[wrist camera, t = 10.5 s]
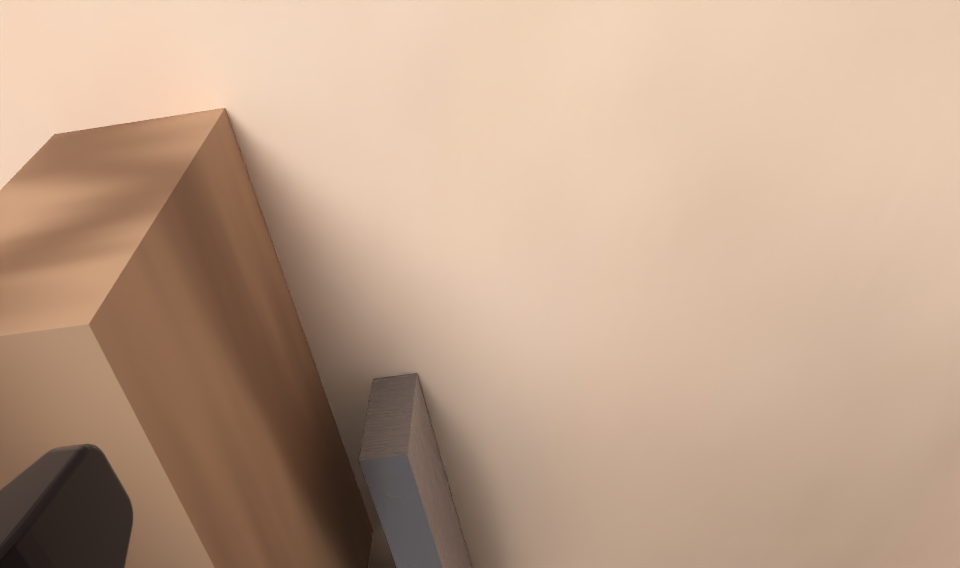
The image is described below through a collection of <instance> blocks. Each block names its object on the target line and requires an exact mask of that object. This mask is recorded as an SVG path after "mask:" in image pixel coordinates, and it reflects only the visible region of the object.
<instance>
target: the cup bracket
mask: <svg viewBox="0 0 960 568" xmlns="http://www.w3.org/2000/svg"><path fill="white" fill-rule="evenodd" d="M359 463H360V466H361V469H362V472H363V475H364V477H365V480H366V483H367V486H368V489H369V491H370V494H371V497H372V500H373V503H374V505H375V508H376V511H377V514H378V517H379V520H380V522H381V525H382V528H383V531H384V534H385V536H386V539H387V542H388V545H389V548H390V550H391V553H392V556H393V559H394V562H395V564H396V567H397V568H472V567H471V563H470V560H469V556H468V553H467V549H466V546H465V542H464V539H463V535H462V531H461V528H460V524H459V521H458V517H457V514H456V510H455V507H454V503H453V500H452V496H451V493H450V489H449V485H448V482H447V478H446V475H445V471H444V468H443V464H442V461H441V457H440V454H439V450H438V447H437V443H436V439H435V436H434V432H433V429H432V425H431V422H430V418H429V415H428V411H427V408H426V404H425V401H424V397H423V393H422V390H421V386H420V383H419V379H418V376H417V373H415V374H408V375H400V376H392V377H384V378H376V379H373V382H372V387H371V393H370V399H369V404H368V410H367V416H366V421H365V427H364V433H363V438H362V444H361V450H360V455H359Z"/></svg>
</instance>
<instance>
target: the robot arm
mask: <svg viewBox="0 0 960 568" xmlns="http://www.w3.org/2000/svg"><path fill="white" fill-rule="evenodd" d="M132 527H133V508H132V504H131V500H130V498H129V496H128V494H127V492H126V491H125V489H124V487H123V485H122V484H121V482H120V480H119V479H118V477H117V475H116V473H115V472H114V470H113V468H112V466H111V465H110V463H109V461H108V459H107V458H106V456H105V454H104V453H103V451H102V450H101V449H100V448H98V447H97V446H96V445H93V444H79V445H71V446H63V447H57V448H53V449H51V450H49V451H48V452H46V453H45V454H44V455H42V456H41V457H40V458H39V459H37V460H36V461H35V462H34V463H32V464H31V465H30V466H29V467H27V468H26V469H25V470H24V471H22V472H21V473H20V474H19V475H18V476H16V477H15V478H14V479H13V480H11V481H10V482H9V483H8V484H6V485H5V486H4V487H3V488H1V489H0V568H125V563H126V558H127V553H128V548H129V542H130V537H131V532H132Z"/></svg>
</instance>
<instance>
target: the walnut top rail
mask: <svg viewBox="0 0 960 568" xmlns="http://www.w3.org/2000/svg"><path fill="white" fill-rule="evenodd" d="M79 444H93V445H96V446H97V447H98V448H100V449H101V450H102V451H103V453H104V454H105V456H106V458H107V459H108V461H109V463H110V465H111V466H112V468H113V470H114V472H115V473H116V475H117V477H118V479H119V480H120V482H121V484H122V485H123V487H124V489H125V491H126V492H127V494H128V496H129V498H130V500H131V504H132V508H133V527H132V532H131V537H130V542H129V548H128V553H127V558H126V563H125V568H368V561H369V554H370V547H371V541H372V534H373V529H372V526H371V523H370V520H369V517H368V514H367V512H366V509H365V506H364V503H363V500H362V497H361V495H360V492H359V489H358V486H357V483H356V480H355V477H354V475H353V472H352V469H351V466H350V463H349V460H348V457H347V455H346V452H345V449H344V446H343V443H342V440H341V437H340V435H339V432H338V429H337V426H336V423H335V420H334V418H333V415H332V412H331V409H330V406H329V403H328V400H327V398H326V395H325V392H324V389H323V386H322V383H321V380H320V378H319V375H318V372H317V369H316V366H315V363H314V360H313V358H312V355H311V352H310V349H309V346H308V343H307V341H306V338H305V335H304V332H303V329H302V326H301V323H300V321H299V318H298V315H297V312H296V309H295V306H294V303H293V301H292V298H291V295H290V292H289V289H288V286H287V283H286V281H285V278H284V275H283V272H282V269H281V266H280V264H279V261H278V258H277V255H276V252H275V249H274V246H273V244H272V241H271V238H270V235H269V232H268V229H267V226H266V224H265V221H264V218H263V215H262V212H261V209H260V206H259V204H258V201H257V198H256V195H255V192H254V189H253V186H252V184H251V181H250V178H249V175H248V172H247V169H246V167H245V164H244V161H243V158H242V155H241V152H240V149H239V147H238V144H237V141H236V138H235V135H234V132H233V129H232V127H231V124H230V121H229V118H228V115H227V112H226V109H225V108H222V109H215V110H209V111H202V112H196V113H189V114H183V115H177V116H170V117H164V118H157V119H151V120H144V121H138V122H131V123H125V124H119V125H112V126H106V127H99V128H93V129H86V130H80V131H73V132H67V133H61V134H54V135H53V136H52V137H51V138H50V140H49V141H48V142H47V143H46V144H45V145H44V146H43V147H42V148H41V149H40V150H39V151H38V152H37V153H36V154H35V155H34V156H33V157H32V158H31V159H30V160H29V161H28V162H27V163H26V164H25V165H24V166H23V167H22V169H21V170H20V171H19V172H18V173H17V174H16V175H15V176H14V177H13V178H12V179H11V180H10V181H9V182H8V183H7V184H6V185H5V186H4V187H3V188H2V189H1V190H0V489H1V488H3V487H4V486H5V485H6V484H8V483H9V482H10V481H11V480H13V479H14V478H15V477H16V476H18V475H19V474H20V473H21V472H22V471H24V470H25V469H26V468H27V467H29V466H30V465H31V464H32V463H34V462H35V461H36V460H37V459H39V458H40V457H41V456H42V455H44V454H45V453H46V452H48V451H49V450H51V449H53V448H57V447H63V446H71V445H79Z"/></svg>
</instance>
